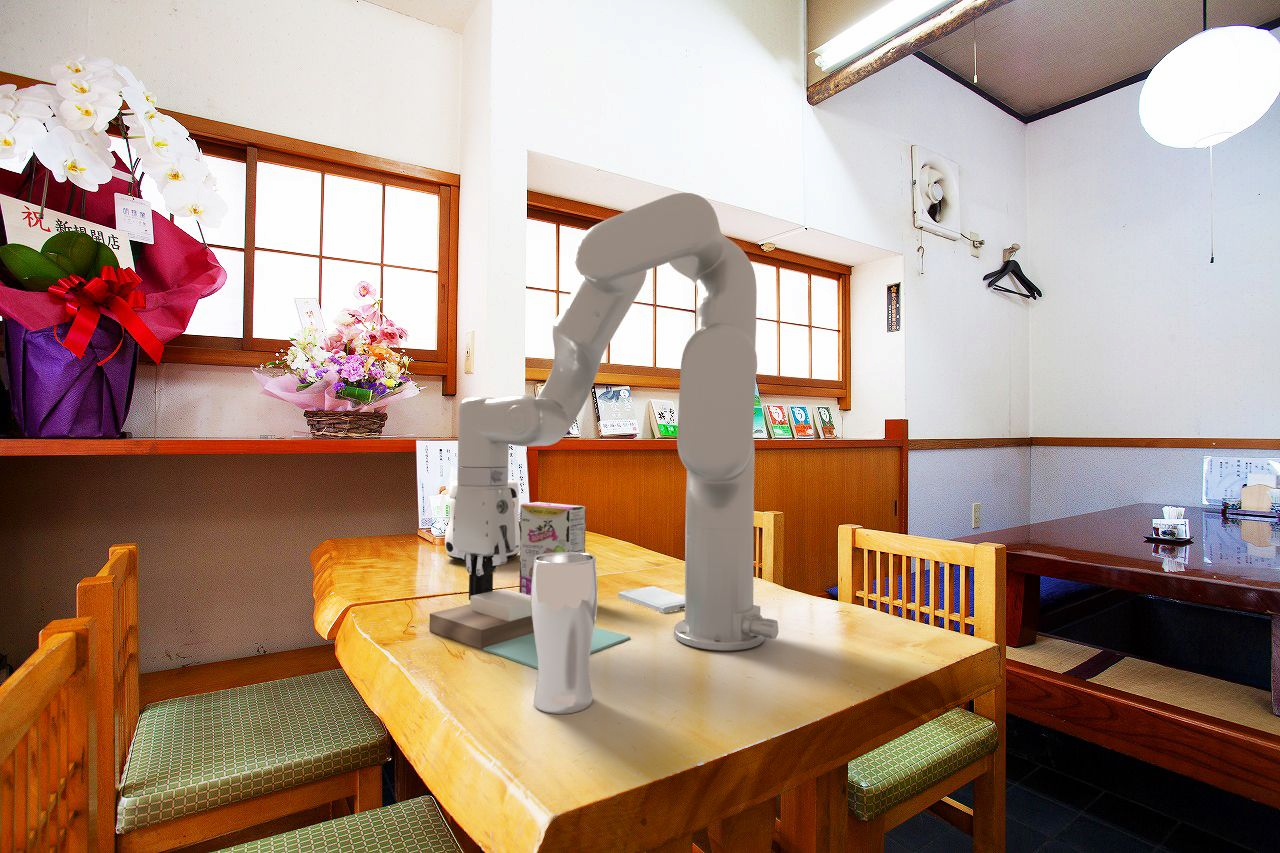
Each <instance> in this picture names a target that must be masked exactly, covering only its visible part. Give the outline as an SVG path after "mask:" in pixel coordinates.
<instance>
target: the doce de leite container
mask: <svg viewBox="0 0 1280 853" xmlns="http://www.w3.org/2000/svg"><path fill="white" fill-rule="evenodd" d="M518 483H519V482H518V481H517V480H510V479H508V488H509V489H511V494H512V499H513V507H514V518H515V549H514V551H513V552H512V553H506V556H507V560H509V559H512V558H514V557H516V556H517V555H518V554H520V518H519V509H520V508H519V494H520V490H519V484H518ZM457 485H458V484H457V480H454V481H451V482H450V487H449V520H448V525H447V527H446V530H445V534H444V535H445V536H444V548H445V552H446V555H447V556H448V557H449V558H450V559H452V560H455V561H460V562H465V560H464V559H462V558H461V557H459V556H458V550H457V549H456V548H455V547H454V544H453V518H454V507H455V499H456V493H457ZM465 563H466V562H465Z"/></svg>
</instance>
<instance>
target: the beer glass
mask: <svg viewBox="0 0 1280 853" xmlns="http://www.w3.org/2000/svg"><path fill="white" fill-rule="evenodd" d="M598 588H599V587H598V573H597V556H595V555H594V554H591V553H588V552H585V553H580V552H554V553H545V554H540V555H537V556H535V557H534V558H533V571H532V582H531V617H532V626H533V632H534V639H535V645H536V651H537V658H538V669H537V678H536V685H535V689H534V694H533V705H534V707H535V708H536V709H537V710H539V711H540V712H544V713H547V714H553V715H568V714H572V713H573V714H574V713H578V712H581V711H583V710H585V709H587V708H589V707H590V706H591V705H592V703H593V692H592V687H591V681H590V680H591V679H590V657H591V654H590V651H591V645H592V639H593V634H594V628H595V627H596V621H597V614H598V599H599V597H598Z"/></svg>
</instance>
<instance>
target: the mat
mask: <svg viewBox="0 0 1280 853" xmlns="http://www.w3.org/2000/svg"><path fill="white" fill-rule="evenodd" d="M630 639H631V636H629V635H626V634H622V633H618V632H615V631H611V630H607V629H603V628H599V627H596V626H595V628H594V634H593V639H592V645H591V651H590V655H591V654H593V653H597V652H599V651H601V650H604V649H607V648H609V647H612V646H615V645H617V644H620V643H623V642H625V641H628V640H630ZM482 650H483V651H485V652H487V653H491V654H493V655H496V656H499V657H502V658H505V659H508V660H511V661H514V662H515V663H516V662H517V663H518V664H522V665H524V666H527V667H530V668H534V669H536V670H538V658H537V651H536V645H535V639H534V633H531V634H527V635H524V636H521V637H517V638H514V639H511V640H508V641H504V642H501V643H498V644H495V645H491V646H488V647H485V648H484V649H482Z"/></svg>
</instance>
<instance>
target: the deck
mask: <svg viewBox="0 0 1280 853" xmlns="http://www.w3.org/2000/svg"><path fill="white" fill-rule="evenodd" d="M429 632H431V633H434V634H437V635H440V636H442V637H444V638H448V639H451V640H454V641H457V642H459V643H462V644H464V645H468V646H471V647H474V648H476V649H479V650H483V649H484V648H485V647H488V646H491V645H495V644H498V643H501V642H504V641H508V640H511V639H514V638H517V637H521V636H524V635H527V634H531V633H534V632H533V626H532V617H531V616H528V617H524V618H520V619H517V620H513V621H506V620H503V619H499V618H496V617H493V616H489V615H486V614H483V613H479V612H476V611H473V610H470V603H469V604H464V605H460V606H457V607H452V608H448V609H444V610H443V609H442V610H438V611H434V612H431V613H429Z"/></svg>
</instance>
